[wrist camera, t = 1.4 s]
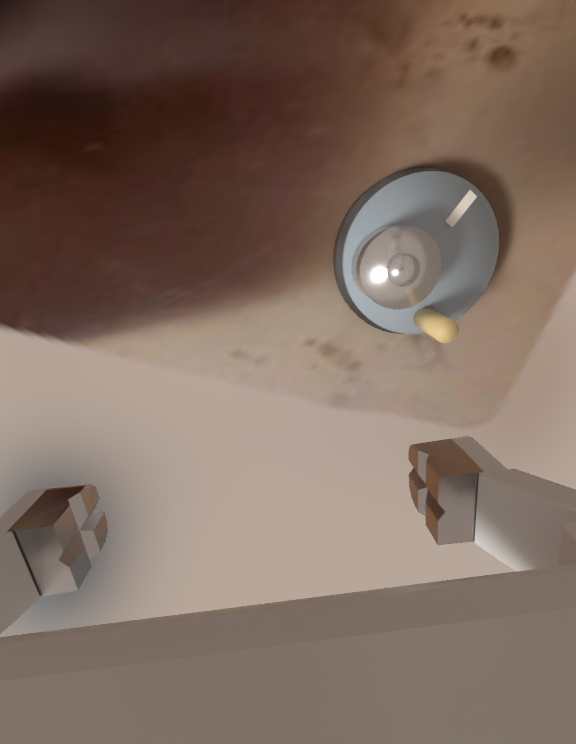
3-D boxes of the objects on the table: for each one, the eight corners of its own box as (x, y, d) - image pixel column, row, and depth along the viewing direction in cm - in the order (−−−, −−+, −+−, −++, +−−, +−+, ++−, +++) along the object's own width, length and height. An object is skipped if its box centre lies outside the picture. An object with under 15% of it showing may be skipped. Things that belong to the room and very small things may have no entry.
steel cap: (401, 210, 25) (422, 207, 22) (435, 273, 27) (459, 280, 23) (337, 255, 26) (347, 260, 23) (373, 314, 28) (388, 327, 24)
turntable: (450, 136, 25) (493, 114, 20) (513, 275, 28) (562, 285, 23) (312, 238, 27) (321, 239, 22) (387, 356, 30) (408, 380, 25)
